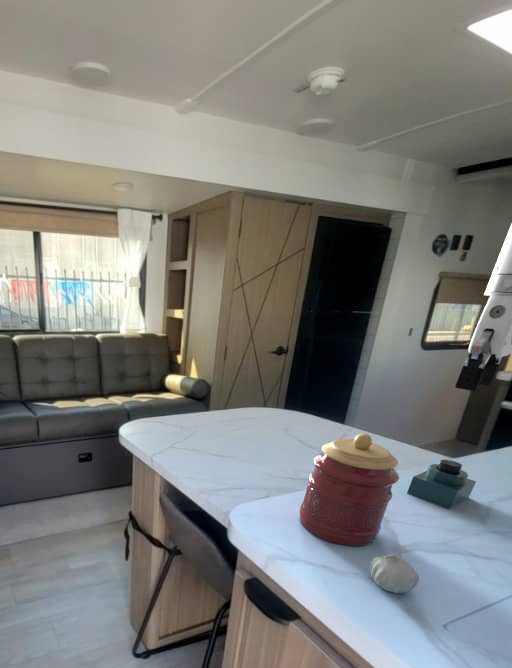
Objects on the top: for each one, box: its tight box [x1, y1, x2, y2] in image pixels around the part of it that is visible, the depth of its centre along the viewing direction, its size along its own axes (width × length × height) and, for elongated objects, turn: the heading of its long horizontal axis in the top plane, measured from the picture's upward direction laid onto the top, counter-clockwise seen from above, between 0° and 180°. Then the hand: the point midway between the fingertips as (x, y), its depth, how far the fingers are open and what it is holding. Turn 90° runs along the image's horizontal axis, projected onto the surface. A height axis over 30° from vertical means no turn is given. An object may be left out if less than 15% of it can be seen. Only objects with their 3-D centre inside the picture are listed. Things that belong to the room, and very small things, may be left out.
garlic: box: [369, 554, 420, 594], centre depth 57 cm, size 6×5×5 cm
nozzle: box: [438, 459, 463, 475], centre depth 84 cm, size 4×4×2 cm
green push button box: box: [406, 463, 477, 510], centre depth 85 cm, size 10×8×6 cm
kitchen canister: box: [299, 433, 400, 547], centre depth 69 cm, size 13×13×18 cm
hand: (473, 386), depth 77 cm, fingers open, 9 cm apart
